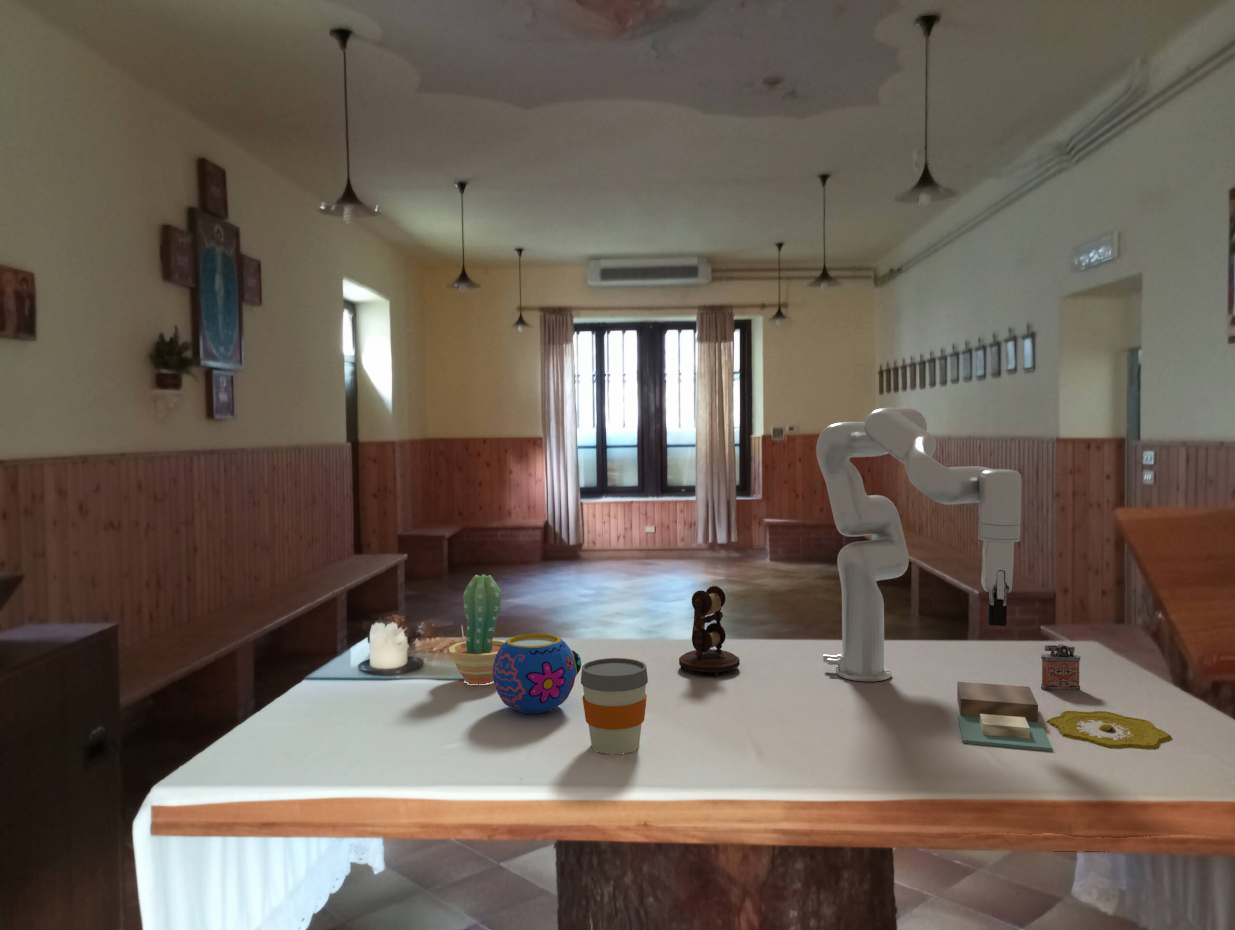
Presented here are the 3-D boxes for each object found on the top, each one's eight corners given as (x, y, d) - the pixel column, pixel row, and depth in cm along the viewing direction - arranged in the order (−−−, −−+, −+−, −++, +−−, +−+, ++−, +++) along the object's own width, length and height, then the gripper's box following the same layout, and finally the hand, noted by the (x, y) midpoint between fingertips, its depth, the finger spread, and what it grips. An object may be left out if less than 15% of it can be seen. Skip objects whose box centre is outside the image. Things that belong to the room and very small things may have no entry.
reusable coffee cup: (626, 763, 152) (625, 680, 151) (568, 750, 158) (567, 670, 157) (661, 741, 162) (659, 662, 161) (605, 729, 169) (604, 654, 168)
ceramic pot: (594, 707, 182) (592, 637, 182) (531, 730, 169) (529, 655, 169) (539, 691, 194) (537, 625, 193) (476, 711, 181) (474, 641, 180)
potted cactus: (527, 676, 206) (525, 573, 205) (485, 693, 193) (482, 583, 192) (479, 667, 214) (476, 568, 213) (435, 683, 201) (432, 578, 200)
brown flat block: (960, 718, 172) (960, 698, 171) (957, 699, 183) (957, 681, 183) (1037, 724, 167) (1037, 704, 167) (1029, 705, 179) (1029, 686, 178)
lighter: (1076, 687, 191) (1076, 642, 190) (1082, 691, 187) (1083, 646, 187) (1038, 686, 191) (1038, 642, 191) (1044, 691, 188) (1044, 646, 188)
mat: (962, 742, 159) (962, 739, 159) (958, 718, 172) (958, 715, 172) (1052, 751, 154) (1052, 748, 154) (1040, 725, 167) (1040, 722, 167)
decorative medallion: (1034, 713, 175) (1034, 706, 175) (1136, 715, 173) (1136, 708, 173) (1075, 749, 155) (1075, 742, 155) (1189, 752, 153) (1190, 744, 153)
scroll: (698, 658, 220) (697, 580, 219) (750, 666, 211) (749, 586, 210) (667, 672, 208) (666, 590, 207) (721, 681, 199) (720, 596, 198)
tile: (980, 713, 167) (979, 723, 167) (983, 724, 161) (983, 734, 161) (1025, 717, 164) (1025, 727, 164) (1029, 727, 158) (1029, 738, 159)
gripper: (975, 526, 176) (973, 614, 177) (981, 537, 162) (979, 632, 163) (1015, 528, 174) (1013, 617, 175) (1025, 538, 160) (1023, 635, 161)
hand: (997, 624), depth 169 cm, fingers closed
